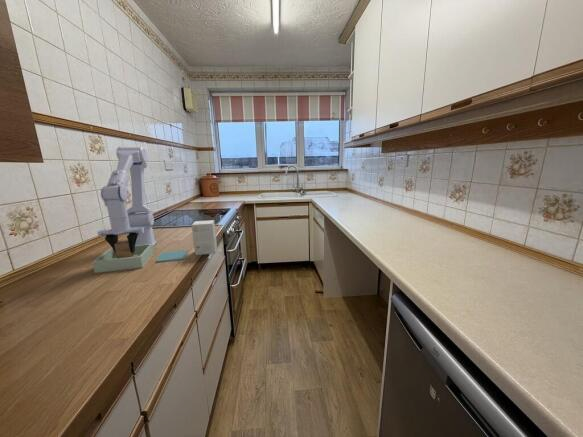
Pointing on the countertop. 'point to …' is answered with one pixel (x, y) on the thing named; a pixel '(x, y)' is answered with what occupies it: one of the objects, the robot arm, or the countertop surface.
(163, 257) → the teal mat
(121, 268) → the crate
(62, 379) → the countertop surface
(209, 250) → the small box
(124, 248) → the walnut block
